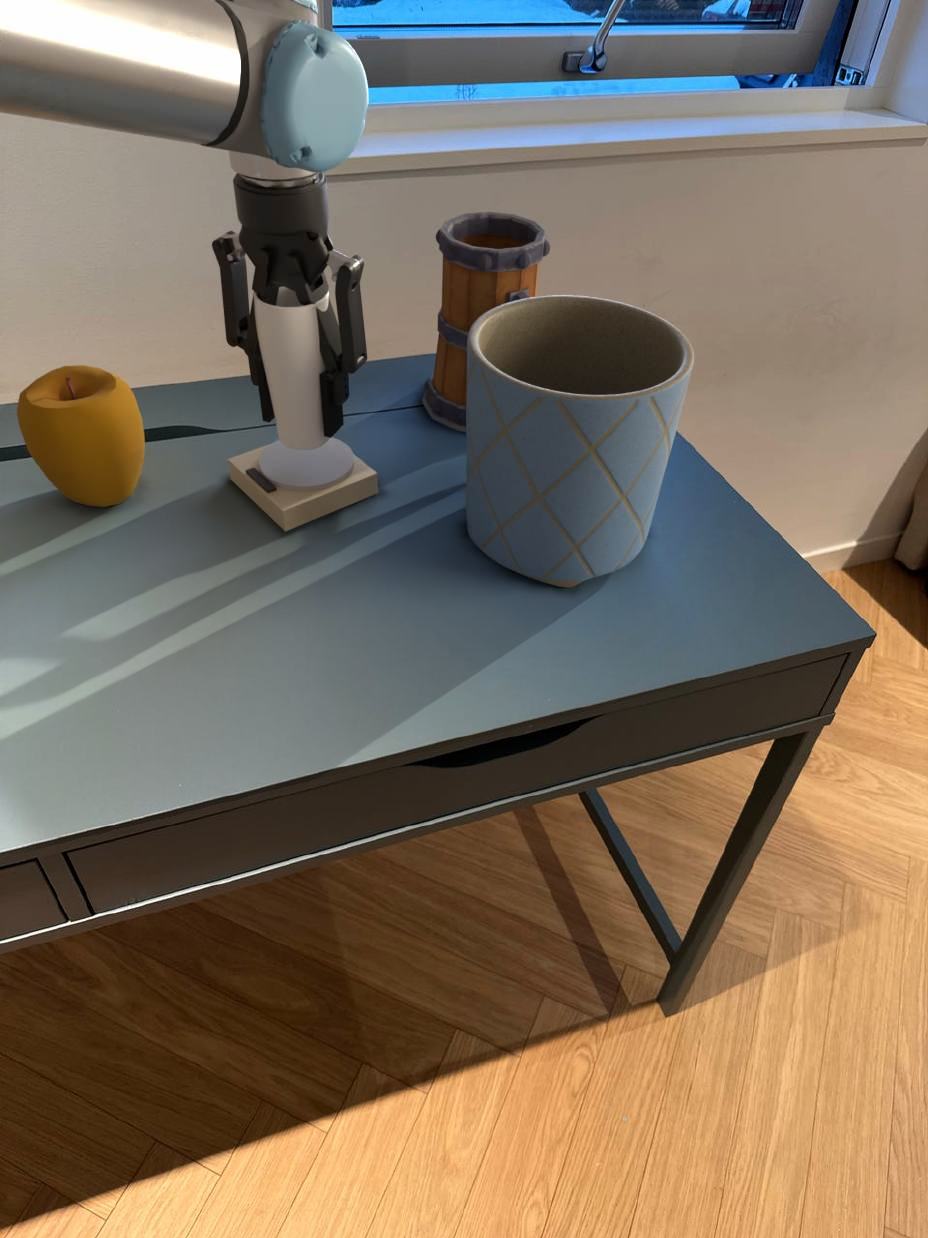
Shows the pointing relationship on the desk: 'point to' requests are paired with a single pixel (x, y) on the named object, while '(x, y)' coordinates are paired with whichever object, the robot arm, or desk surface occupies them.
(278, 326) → the drinking glass
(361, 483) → the scale
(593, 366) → the planter
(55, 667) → the desk surface
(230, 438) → the desk surface
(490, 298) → the mug
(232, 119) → the robot arm
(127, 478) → the apple
